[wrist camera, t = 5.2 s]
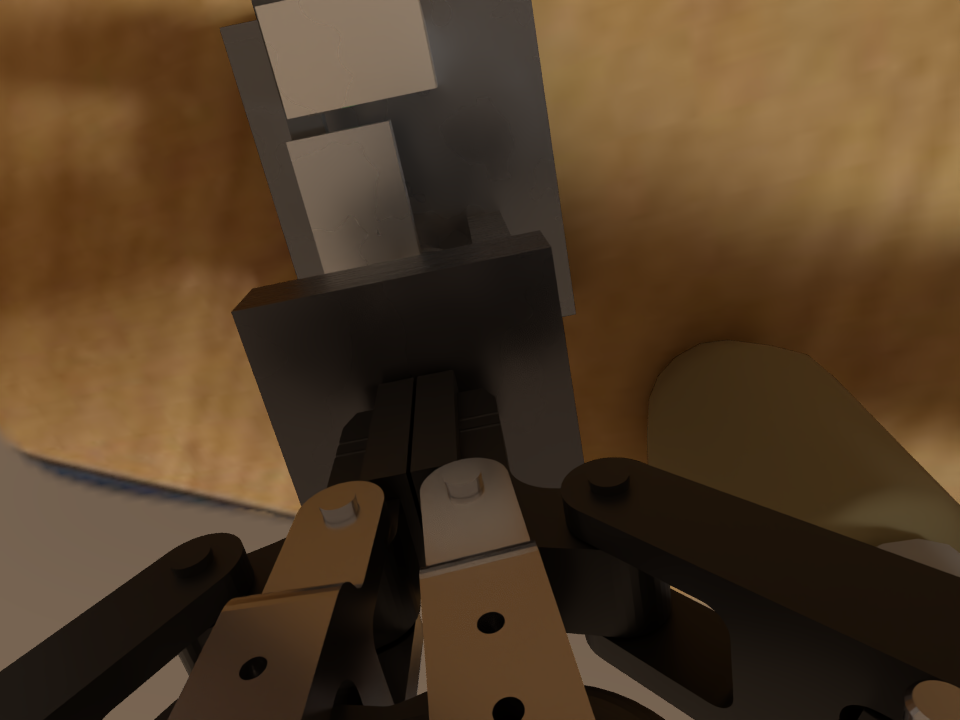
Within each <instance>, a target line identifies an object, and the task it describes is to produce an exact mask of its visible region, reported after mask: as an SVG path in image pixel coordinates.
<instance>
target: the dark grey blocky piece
mask: <svg viewBox="0 0 960 720" xmlns="http://www.w3.org/2000/svg"><path fill="white" fill-rule="evenodd" d="M286 144H287V148H288V151H289V154H290V158H291V161H292V165H293V168H294V171H295V175H296V178H297V182H298V185H299V188H300V192H301V195H302V199H303V202H304V205H305V209H306V212H307V216H308V219H309V222H310V226H311V229H312V233H313V236H314V239H315V243H316V246H317V249H318V253H319V256H320V260H321V263H322V266H323V270H324V273H325V274H322V275H317V276H312V277H307V278H302V279H297V280H292V281H287V282H283V283H278V284H273V285H268V286H263V287H258V288H253V289H252V290H251V291H250V292H249V293H248V294H247V295H246V296H245V297H244V299H243V300H242V301H241V302H240V303H239V304H238V305H237V306H236V307H235V308H234V309H233V311H232V312H231V313H232V315H233V318H234V321H235V324H236V327H237V329H238V332H239V335H240V338H241V340H242V343H243V346H244V349H245V351H246V354H247V357H248V360H249V363H250V365H251V368H252V371H253V374H254V376H255V379H256V382H257V385H258V387H259V390H260V393H261V396H262V399H263V401H264V404H265V407H266V410H267V412H268V415H269V418H270V421H271V423H272V426H273V429H274V432H275V435H276V437H277V440H278V443H279V446H280V448H281V451H282V454H283V457H284V459H285V462H286V465H287V468H288V471H289V473H290V476H291V479H292V482H293V484H294V487H295V490H296V493H297V495H298V498H299V501H300V504H301V506H302V505H303V504H304V503H305V502H306V501H307V500H308V499H310V498H311V497H312V496H314V495H315V494H317V493H319V492H320V491H322V490H324V489H326V488H327V485H328V481H329V477H330V474H331V470H332V466H333V463H334V459H335V458H336V452H337V448H338V445H339V441H340V437H341V434H342V430H343V427H344V426H345V425H346V424H347V423H348V422H349V421H350V420H351V419H352V418H353V417H354V416H355V414H356V413H359V412H364V411H369V410H374V405H375V400H376V394H377V389H378V385H379V384H383V383H388V382H393V381H398V380H403V379H408V378H413V377H415V378H416V380H417V377H418V376H423V375H428V374H433V373H438V372H443V371H448V370H453V371H454V374H455V377H456V382H457V386H458V391H459V392H464V391H469V390H474V389H479V388H484V389H485V390H487V391H488V392H489V393H490V394H492V395H493V396H494V397H496V402H497V407H498V412H499V417H500V422H501V427H502V431H503V436H504V441H505V446H506V451H507V456H508V461H509V466H510V472H511V473H512V475H513V476H514V477H515V478H516V479H518V480H520V481H521V482H523V483H526V484H528V485H532V486H536V487H542V488H561V484H562V482H563V480H564V478H565V477H566V475H567V474H568V473H569V472H571V471H572V470H573V469H575V468H576V467H578V466H580V465H582V464H584V459H583V452H582V446H581V439H580V432H579V426H578V419H577V413H576V406H575V399H574V393H573V386H572V380H571V373H570V366H569V360H568V353H567V347H566V340H565V333H564V327H563V320H562V314H561V307H560V300H559V294H558V287H557V281H556V274H555V267H554V261H553V254H552V248H551V246H550V244H549V243H548V241H547V240H546V238H545V237H544V235H543V234H542V232H541V231H540V230H538V231H533V232H528V233H523V234H518V235H513V236H509V237H504V238H499V239H494V240H489V241H484V242H479V243H474V244H469V245H464V246H459V247H454V248H450V249H445V250H443V249H439V248H425V249H421V248H420V244H419V240H418V235H417V231H416V227H415V222H414V218H413V214H412V210H411V205H410V201H409V197H408V192H407V188H406V184H405V179H404V175H403V171H402V166H401V162H400V158H399V153H398V149H397V145H396V140H395V136H394V132H393V128H392V123H391V120H386V121H381V122H376V123H372V124H367V125H362V126H357V127H352V128H348V129H343V130H338V131H333V132H328V133H324V134H319V135H314V136H309V137H305V138H300V139H295V140H291V141H288V142H286Z"/></svg>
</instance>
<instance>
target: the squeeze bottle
mask: <svg viewBox="0 0 960 720" xmlns="http://www.w3.org/2000/svg"><path fill="white" fill-rule="evenodd" d="M647 450H648V465H650V466H653V467H656V468H659V469H661V470H664V471H667V472H670V473H672V474H675V475H678V476H681V477H684V478H686V479H689V480H692V481H695V482H697V483H700V484H703V485H706V486H709V487H711V488H714V489H717V490H720V491H722V492H725V493H728V494H731V495H733V496H736V497H739V498H742V499H745V500H747V501H750V502H753V503H756V504H758V505H761V506H764V507H767V508H770V509H772V510H775V511H778V512H781V513H783V514H786V515H789V516H792V517H794V518H797V519H800V520H803V521H806V522H808V523H811V524H814V525H817V526H819V527H822V528H825V529H828V530H831V531H833V532H836V533H839V534H842V535H844V536H847V537H850V538H853V539H855V540H858V541H861V542H864V543H867V544H869V545H872V546H875V547H878V548H880V549H883V550H886V551H889V552H892V553H894V554H897V555H900V556H903V557H905V558H908V559H911V560H914V561H916V562H919V563H922V564H925V565H928V566H930V567H933V568H936V569H939V570H941V571H944V572H947V573H950V574H953V575H955V576H958V577H960V505H959V504H958V503H957V502H956V501H955V500H954V499H953V498H952V497H951V496H950V495H949V493H948V492H947V491H946V490H945V489H944V488H943V487H942V486H941V485H940V484H939V483H938V482H937V481H936V480H935V479H934V478H933V477H932V476H931V475H930V474H929V473H928V472H927V471H926V470H925V469H924V468H923V467H922V466H921V465H920V464H919V463H918V462H917V461H916V460H915V459H914V458H913V457H912V456H911V455H910V454H909V453H908V452H907V451H906V450H905V449H904V448H903V447H902V446H901V445H900V444H899V443H898V442H897V441H896V440H895V438H894V437H893V436H892V435H891V434H890V433H889V432H888V431H887V430H886V429H885V428H884V427H883V426H882V425H881V424H880V423H879V422H878V421H877V420H876V419H875V418H874V417H873V416H872V415H871V414H870V413H869V412H868V411H867V410H866V409H865V408H864V407H863V406H862V405H861V404H860V403H859V402H858V401H857V400H856V399H855V398H854V397H853V396H852V395H851V394H850V393H849V392H848V391H847V390H846V389H845V388H844V387H843V386H842V385H841V383H840V382H839V381H838V380H837V379H836V378H835V377H834V376H832V375H831V374H830V373H829V372H828V371H826V370H825V369H824V368H823V367H822V366H820V365H819V364H818V363H817V362H816V361H814V360H813V359H812V358H811V357H810V356H808V355H807V354H803V353H799V352H795V351H791V350H787V349H783V348H779V347H774V346H770V345H763V344H755V343H748V342H740V341H732V340H723V341H716V342H709V343H702V344H699V345H697V346H695V347H693V348H692V349H690V350H688V351H686V352H684V353H682V354H680V355H678V356H676V357H675V359H674V360H673V361H672V362H671V363H670V364H669V365H668V366H667V367H666V368H665V369H664V370H663V372H662V373H661V374H660V375H659V376H658V378H657V380H656V383H655V385H654V388H653V390H652V393H651V395H650V398H649V408H648V427H647Z"/></svg>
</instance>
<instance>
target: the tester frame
mask: <svg viewBox="0 0 960 720" xmlns="http://www.w3.org/2000/svg"><path fill="white" fill-rule="evenodd" d="M255 9H256V13H257V16H258V20H259V23H260V26H261V30H262V33H263V37H264V40H265V44H266V47H267V51H268V54H269V57H270V61H271V64H272V68H273V71H274V75H275V78H276V82H277V85H278V89H279V92H280V95H281V99H282V102H283V106H284V109H285V113H286V116H287V119H291V118H296V117H300V116H305V115H308V117H309V116H314V115H318V114H323V113H324V114H325V118H326V122H327V126H328V129H329V132H333V131H338V130H343V129H348V128H352V127H357V126H362V125H367V124H372V123H376V122H381V121H386V120H391V123H392V128H393V132H394V136H395V140H396V145H397V149H398V153H399V158H400V162H401V166H402V171H403V175H404V179H405V184H406V188H407V192H408V197H409V201H410V205H411V210H412V214H413V218H414V222H415V227H416V231H417V235H418V240H419V244H420V248H421V249H425V248H439V249H443V250H445V249H450V248H454V247H459V246H464V245H469V244H474V243H479V242H484V241H489V240H494V239H499V238H504V237H509V236H513V235H518V234H523V233H528V232H533V231H538V230H540V231H541V232H542V234H543V235H544V237H545V238H546V240H547V241H548V243H549V244H550V246H551V248H552V254H553V261H554V267H555V274H556V281H557V287H558V294H559V300H560V307H561V314H562V317H564V316H569V315H574V314H576V311H575V304H574V297H573V290H572V283H571V276H570V269H569V262H568V255H567V248H566V241H565V234H564V227H563V220H562V213H561V206H560V199H559V192H558V185H557V178H556V171H555V164H554V157H553V150H552V143H551V136H550V129H549V122H548V115H547V108H546V101H545V93H544V86H543V79H542V72H541V65H540V58H539V51H538V44H537V37H536V30H535V23H534V16H533V9H532V2H531V0H284V1H280V2H275V3H270V4H266V5H261V6H256V7H255ZM220 32H221V35H222V38H223V41H224V44H225V48H226V51H227V54H228V57H229V60H230V64H231V67H232V70H233V73H234V76H235V80H236V83H237V86H238V89H239V92H240V96H241V99H242V102H243V105H244V108H245V112H246V115H247V118H248V121H249V124H250V128H251V131H252V134H253V137H254V140H255V144H256V147H257V150H258V153H259V156H260V160H261V163H262V166H263V169H264V172H265V176H266V179H267V182H268V185H269V188H270V192H271V195H272V198H273V201H274V204H275V208H276V211H277V214H278V217H279V220H280V224H281V227H282V230H283V233H284V236H285V240H286V243H287V246H288V249H289V252H290V256H291V259H292V262H293V265H294V268H295V272H296V275H297V278H298V279H302V278H307V277H312V276H317V275H322V274H325V273H324V270H323V266H322V263H321V260H320V256H319V253H318V249H317V246H316V243H315V239H314V236H313V233H312V229H311V226H310V222H309V219H308V216H307V212H306V209H305V205H304V202H303V199H302V195H301V192H300V188H299V185H298V182H297V178H296V175H295V171H294V168H293V165H292V161H291V158H290V154H289V151H288V148H287V144H286V142H288V141H291V140H292V139H291V135H290V132H289V128H288V125H287V121H286V118H285V115H284V111H283V108H282V104H281V101H280V97H279V94H278V91H277V87H276V84H275V80H274V77H273V73H272V70H271V66H270V63H269V60H268V56H267V53H266V49H265V46H264V42H263V39H262V36H261V32H260V29H259V25H258V22H257V20H255V21H250V22H245V23H240V24H236V25H231V26H226V27H222V28H220Z"/></svg>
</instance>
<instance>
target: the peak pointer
mask: <svg viewBox="0 0 960 720" xmlns="http://www.w3.org/2000/svg"><path fill="white" fill-rule="evenodd" d="M251 1H252V5H253V8H254V11H255V15H256V18H257V22H258V25H259V29H260V32H261V36H262V39H263V42H264V46H265V49H266V53H267V56H268V60H269V63H270V66H271V70H272V73H273V77H274V80H275V84H276V87H277V91H278V94H279V97H280V101H281V104H282V108H283V111H284V115H285V118H286V121H287V125H288V128H289V132H290V135H291V139H292V140H295V139H300V138H305V137H309V136H314V135H319V134H324V133H328V132H329V129H328V126H327V122H326V118H325V114H324V113H323V114H318V115H314V116H309V117H308V115H305V116H300V117H296V118H291V119H287V116H286V113H285V109H284V106H283V102H282V99H281V95H280V92H279V89H278V85H277V82H276V78H275V75H274V71H273V68H272V64H271V61H270V57H269V54H268V51H267V47H266V44H265V40H264V37H263V33H262V30H261V26H260V23H259V20H258V16H257V13H256V9H255V7H256V6H261V5H266V4H270V3H275V2H280V1H284V0H251Z"/></svg>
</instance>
